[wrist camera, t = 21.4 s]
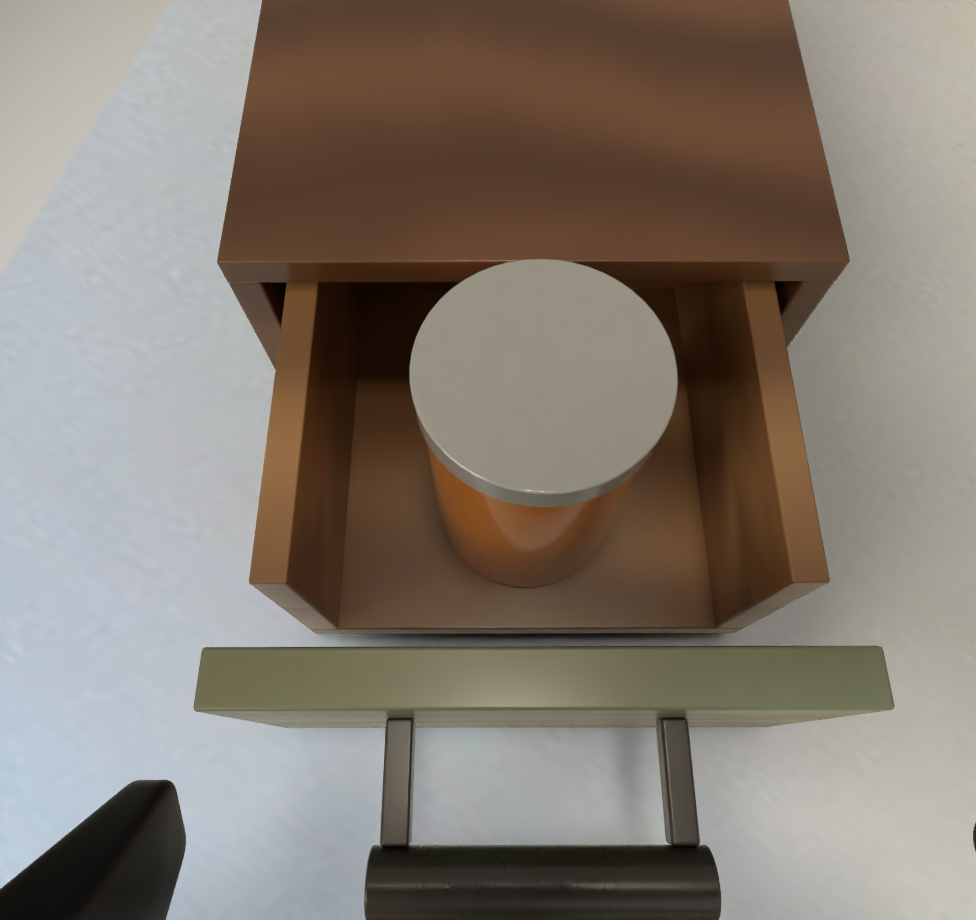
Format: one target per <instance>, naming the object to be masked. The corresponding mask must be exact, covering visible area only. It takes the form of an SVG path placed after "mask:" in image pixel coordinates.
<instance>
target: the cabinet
mask: <svg viewBox="0 0 976 920" xmlns="http://www.w3.org/2000/svg"><path fill="white" fill-rule="evenodd" d="M527 259H553V260H561V261H568V262H573V263H577V264H581V265H584V266H588V267H591V268H593V269H596V270H598V271H601V272H603V273H605V274H607V275H609V276H611V277H613V278H615V279H616V280H618V281H620V282H669V281H774V283H775V288H776V293H777V299H778V304H779V309H780V315H781V320H782V326H783V331H784V336H785V342H786V347H788V346H789V344H790V343H791V341H792V340H793V339H794V337H795V336H796V334H797V333H798V332H799V330H800V329H801V327H802V326H803V325H804V323H805V322H806V320H807V319H808V318H809V316H810V315H811V313H812V312H813V311H814V309H815V308H816V306H817V305H818V304H819V302H820V301H821V299H822V298H823V297H824V295H825V294H826V292H827V291H828V290H829V288H830V287H831V285H832V284H833V282H834V281H835V280H836V279H837V278H838V276H839V275H840V274H841V272H842V271H843V269H844V268H845V267H846V265H847V264H848V262H849V260H850V259H849V255H848V251H847V247H846V242H845V238H844V234H843V230H842V225H841V221H840V217H839V213H838V209H837V204H836V200H835V196H834V192H833V187H832V183H831V179H830V175H829V171H828V166H827V162H826V158H825V154H824V149H823V145H822V141H821V137H820V133H819V128H818V124H817V120H816V116H815V111H814V107H813V103H812V99H811V95H810V90H809V86H808V82H807V78H806V73H805V69H804V65H803V61H802V57H801V52H800V48H799V44H798V40H797V35H796V31H795V27H794V23H793V19H792V14H791V10H790V6H789V2H788V0H262V6H261V11H260V17H259V23H258V29H257V35H256V40H255V46H254V52H253V58H252V63H251V69H250V75H249V81H248V87H247V92H246V98H245V104H244V110H243V115H242V121H241V127H240V133H239V139H238V144H237V150H236V156H235V162H234V168H233V173H232V179H231V185H230V191H229V196H228V202H227V208H226V214H225V220H224V225H223V231H222V237H221V243H220V248H219V254H218V260H217V263H218V265H219V267H220V268H221V270H222V272H223V274H224V276H225V278H226V279H227V281H228V282H229V284H230V286H231V288H232V290H233V292H234V294H235V296H236V297H237V299H238V301H239V303H240V305H241V307H242V308H243V310H244V312H245V314H246V316H247V318H248V320H249V321H250V323H251V325H252V327H253V329H254V331H255V333H256V334H257V336H258V338H259V340H260V342H261V344H262V346H263V347H264V349H265V351H266V353H267V355H268V357H269V358H270V360H271V362H272V364H273V366H274V368H275V370H276V364H277V356H278V348H279V340H280V332H281V324H282V316H283V308H284V300H285V292H286V285H287V282H462V281H463V280H465V279H467V278H468V277H470V276H472V275H474V274H476V273H478V272H480V271H483V270H485V269H488V268H490V267H493V266H496V265H500V264H503V263H507V262H512V261H519V260H527Z"/></svg>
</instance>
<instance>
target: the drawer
mask: <svg viewBox="0 0 976 920" xmlns="http://www.w3.org/2000/svg"><path fill="white" fill-rule="evenodd" d="M459 283H460V282H287V285H286V292H285V300H284V308H283V316H282V324H281V332H280V340H279V348H278V356H277V364H276V372H275V380H274V388H273V395H272V403H271V411H270V419H269V427H268V435H267V443H266V451H265V459H264V467H263V475H262V483H261V491H260V498H259V506H258V514H257V522H256V530H255V538H254V546H253V554H252V562H251V570H250V578H249V583H250V584H251V585H252V586H254V587H255V588H256V589H258V590H259V591H260V592H262V593H263V594H264V595H266V596H267V597H268V598H269V599H271V600H272V601H273V602H275V603H276V604H277V605H279V606H280V607H281V608H283V609H284V610H285V611H287V612H288V613H289V614H291V615H292V616H293V617H295V618H296V619H297V620H299V621H300V622H301V623H303V624H304V625H305V626H306V627H308V628H309V629H311V630H312V631H313V632H315V633H316V634H455V633H735V632H737V631H739V630H741V629H743V628H744V627H746V626H748V625H750V624H752V623H754V622H756V621H757V620H759V619H761V618H763V617H765V616H767V615H769V614H770V613H772V612H774V611H776V610H778V609H780V608H782V607H784V606H785V605H787V604H789V603H791V602H793V601H795V600H797V599H798V598H800V597H802V596H804V595H806V594H808V593H810V592H811V591H813V590H815V589H817V588H819V587H821V586H823V585H824V584H826V583H828V582H829V580H830V579H829V574H828V568H827V563H826V558H825V552H824V547H823V541H822V536H821V531H820V525H819V520H818V514H817V509H816V504H815V498H814V493H813V487H812V482H811V477H810V471H809V466H808V461H807V455H806V450H805V444H804V439H803V434H802V428H801V423H800V417H799V412H798V407H797V401H796V396H795V390H794V385H793V380H792V374H791V369H790V363H789V358H788V353H787V347H786V342H785V336H784V331H783V326H782V320H781V315H780V309H779V304H778V299H777V293H776V288H775V283H774V281H669V282H621V283H623V284H624V285H625V286H627V287H628V288H630V289H631V290H632V291H634V292H635V293H636V294H637V295H638V296H639V297H640V298H641V299H643V300H644V301H645V303H646V304H647V305H648V306H649V307H650V308H651V309H652V310H653V312H654V313H655V314H656V316H657V317H658V319H659V320H660V322H661V323H662V325H663V327H664V329H665V331H666V333H667V335H668V337H669V339H670V342H671V345H672V348H673V351H674V353H675V358H676V364H677V369H678V389H677V398H676V403H675V406H674V410H673V414H672V417H671V419H670V421H669V423H668V426H667V428H666V430H665V432H664V434H663V436H662V438H661V439H660V441H659V443H658V445H657V447H656V448H655V450H654V451H653V453H652V455H651V456H650V458H649V459H648V460H647V461H646V462H645V464H644V465H643V466H642V467H641V468H640V469H639V471H638V473H637V475H636V477H635V479H634V481H633V483H632V485H631V487H630V489H629V491H628V493H627V495H626V497H625V499H624V500H623V502H622V504H621V506H620V508H619V510H618V512H617V514H616V516H615V518H614V520H613V522H612V524H611V526H610V528H609V530H608V532H607V534H606V536H605V538H604V540H603V542H602V544H601V545H600V547H599V549H598V550H597V552H596V553H595V555H594V556H593V557H592V558H591V559H590V560H589V562H588V563H587V564H585V565H584V566H583V567H582V568H581V569H580V570H578V571H577V572H575V573H574V574H572V575H571V576H569V577H567V578H565V579H563V580H561V581H558V582H555V583H552V584H549V585H544V586H539V587H514V586H509V585H504V584H501V583H498V582H495V581H492V580H490V579H488V578H486V577H484V576H482V575H480V574H479V573H477V572H476V571H474V570H473V569H471V568H470V567H469V566H468V565H467V564H466V563H465V562H463V560H462V559H461V558H460V557H459V556H458V555H457V554H456V552H455V551H454V549H453V548H452V546H451V545H450V543H449V541H448V539H447V537H446V534H445V532H444V528H443V525H442V521H441V516H440V511H439V506H438V501H437V496H436V490H435V485H434V480H433V475H432V470H431V465H430V460H429V455H428V449H427V444H426V440H425V438H424V436H423V434H422V432H421V430H420V427H419V424H418V421H417V418H416V414H415V410H414V405H413V400H412V394H411V389H410V376H409V367H410V359H411V352H412V349H413V345H414V342H415V338H416V336H417V334H418V332H419V329H420V327H421V325H422V323H423V322H424V320H425V318H426V317H427V315H428V314H429V312H430V311H431V310H432V308H433V307H434V306H435V305H436V304H437V302H438V301H439V300H440V299H441V298H442V297H443V296H444V295H445V294H446V293H447V292H449V291H450V290H451V289H452V288H453V287H455V286H456V285H458V284H459ZM892 709H894V702H893V697H892V692H891V687H890V682H889V677H888V673H887V668H886V663H885V658H884V653H883V649H882V647H880V646H565V647H206V648H203V650H202V653H201V660H200V667H199V674H198V680H197V687H196V694H195V701H194V710H195V711H197V712H203V713H208V714H214V715H219V716H225V717H230V718H236V719H241V720H247V721H252V722H258V723H263V724H269V725H274V726H280V727H285V728H386V732H385V753H384V773H383V793H382V814H381V834H380V844H381V845H374V846H372V848H371V850H370V853H369V857H368V863H367V870H366V880H365V899H364V906H365V918H366V920H719V918H720V913H721V890H720V882H719V876H718V871H717V867H716V863H715V860H714V857H713V855H712V852H711V850H710V849H709V847H708V846H706V845H699V843H700V838H699V828H698V818H697V808H696V798H695V788H694V778H693V769H692V759H691V749H690V739H689V729H688V727H769V726H777V725H784V724H791V723H799V722H806V721H814V720H821V719H828V718H836V717H843V716H850V715H858V714H865V713H872V712H880V711H887V710H892ZM415 727H656V729H657V741H658V752H659V764H660V776H661V788H662V799H663V811H664V823H665V834H666V841H667V843H669V844H672V845H409V844H410V843H411V838H412V809H413V779H414V750H415Z"/></svg>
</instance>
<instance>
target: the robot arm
mask: <svg viewBox="0 0 976 920" xmlns="http://www.w3.org/2000/svg"><path fill="white" fill-rule="evenodd" d="M973 842H974V847H975V851H976V823H975V826H974V830H973ZM185 846H186V834H185V828H184V824H183V819H182V814H181V810H180V805H179V800H178V796H177V791H176V788H175V786H174V784H173V783H172V782H171V781H168V780H137V781H134V782H132V783H130V784H128V785H127V786H126V787H124V788H123V789H122V790H121V791H119V792H118V793H117V794H116V795H115V796H113V797H112V798H111V799H110V800H108V801H107V802H106V803H105V804H104V805H102V806H101V807H100V808H99V809H97V810H96V811H95V812H94V813H93V814H91V815H90V816H89V817H88V818H87V819H85V820H84V821H83V822H82V823H80V824H79V825H78V826H77V827H76V828H74V829H73V830H72V831H71V832H69V833H68V834H67V835H66V836H65V837H63V838H62V839H61V840H60V841H58V842H57V843H56V844H55V845H54V846H52V847H51V848H50V849H49V850H47V851H46V852H45V853H44V854H43V855H41V856H40V857H39V858H38V859H36V860H35V861H34V862H33V863H32V864H30V865H29V866H28V867H27V868H26V869H24V870H23V871H22V872H21V873H19V874H18V875H17V876H16V877H15V878H13V879H12V880H11V881H10V882H8V883H7V884H6V885H5V886H4V887H2V888H1V889H0V920H166V917H167V913H168V910H169V906H170V903H171V899H172V896H173V893H174V889H175V886H176V882H177V879H178V875H179V872H180V868H181V865H182V861H183V858H184V853H185Z"/></svg>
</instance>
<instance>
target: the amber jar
mask: <svg viewBox="0 0 976 920" xmlns="http://www.w3.org/2000/svg"><path fill="white" fill-rule="evenodd" d="M409 376H410V389H411V394H412V400H413V405H414V410H415V414H416V418H417V421H418V424H419V427H420V430H421V432H422V434H423V436H424V438H425V440H426V444H427V449H428V455H429V460H430V465H431V470H432V475H433V480H434V485H435V490H436V496H437V501H438V506H439V511H440V516H441V521H442V525H443V528H444V532H445V534H446V537H447V539H448V541H449V543H450V545H451V546H452V548H453V549H454V551H455V552H456V554H457V555H458V556H459V557H460V558H461V559H462V560H463V562H465V563H466V564H467V565H468V566H469V567H470V568H471V569H473V570H474V571H476V572H477V573H479V574H480V575H482V576H484V577H486V578H488V579H490V580H492V581H495V582H498V583H501V584H504V585H509V586H514V587H539V586H544V585H549V584H552V583H555V582H558V581H561V580H563V579H565V578H567V577H569V576H571V575H572V574H574V573H575V572H577V571H578V570H580V569H581V568H582V567H583V566H584V565H585V564H587V563H588V562H589V560H590V559H591V558H592V557H593V556H594V555H595V553H596V552H597V550H598V549H599V547H600V545H601V544H602V542H603V540H604V538H605V536H606V534H607V532H608V530H609V528H610V526H611V524H612V522H613V520H614V518H615V516H616V514H617V512H618V510H619V508H620V506H621V504H622V502H623V500H624V499H625V497H626V495H627V493H628V491H629V489H630V487H631V485H632V483H633V481H634V479H635V477H636V475H637V473H638V471H639V469H640V468H641V467H642V466H643V465H644V464H645V462H646V461H647V460H648V459H649V458H650V456H651V455H652V453H653V451H654V450H655V448H656V447H657V445H658V443H659V441H660V439H661V438H662V436H663V434H664V432H665V430H666V428H667V426H668V423H669V421H670V419H671V417H672V414H673V410H674V406H675V403H676V398H677V389H678V369H677V364H676V358H675V353H674V351H673V348H672V345H671V342H670V339H669V337H668V335H667V333H666V331H665V329H664V327H663V325H662V323H661V322H660V320H659V319H658V317H657V316H656V314H655V313H654V312H653V310H652V309H651V308H650V307H649V306H648V305H647V304H646V303H645V301H644V300H643V299H641V298H640V297H639V296H638V295H637V294H636V293H635V292H634V291H632V290H631V289H630V288H628V287H627V286H625V285H624V284H623V283H621V282H620V281H618V280H616V279H615V278H613V277H611V276H609V275H607V274H605V273H603V272H601V271H598V270H596V269H593V268H591V267H588V266H584V265H581V264H577V263H573V262H568V261H561V260H553V259H527V260H519V261H512V262H507V263H503V264H500V265H496V266H493V267H490V268H488V269H485V270H483V271H480V272H478V273H476V274H474V275H472V276H470V277H468V278H467V279H465V280H463V281H462V282H460V283H459V284H458V285H456V286H455V287H453V288H452V289H451V290H450V291H449V292H447V293H446V294H445V295H444V296H443V297H442V298H441V299H440V300H439V301H438V302H437V304H436V305H435V306H434V307H433V308H432V310H431V311H430V312H429V314H428V315H427V317H426V318H425V320H424V322H423V323H422V325H421V327H420V329H419V332H418V334H417V336H416V338H415V342H414V345H413V349H412V352H411V359H410V367H409Z"/></svg>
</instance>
